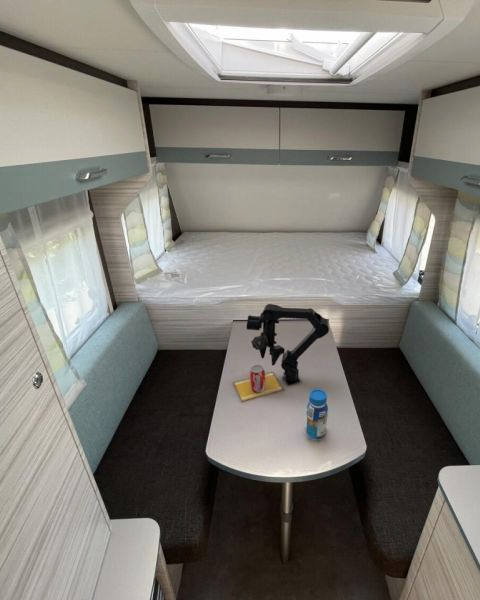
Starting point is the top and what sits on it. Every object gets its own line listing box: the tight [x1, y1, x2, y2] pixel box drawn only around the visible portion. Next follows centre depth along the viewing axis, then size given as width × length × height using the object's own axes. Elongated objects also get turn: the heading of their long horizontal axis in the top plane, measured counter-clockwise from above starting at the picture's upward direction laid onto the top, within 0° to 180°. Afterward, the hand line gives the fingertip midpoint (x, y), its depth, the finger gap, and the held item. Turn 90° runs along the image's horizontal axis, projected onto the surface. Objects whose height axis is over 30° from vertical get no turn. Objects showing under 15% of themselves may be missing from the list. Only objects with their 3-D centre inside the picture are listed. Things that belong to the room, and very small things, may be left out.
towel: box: [233, 372, 283, 402], centre depth 159 cm, size 20×14×1 cm
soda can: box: [249, 364, 266, 393], centre depth 154 cm, size 7×7×12 cm
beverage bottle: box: [305, 388, 329, 441], centre depth 128 cm, size 8×8×20 cm
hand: (267, 361), depth 156 cm, fingers open, 9 cm apart
